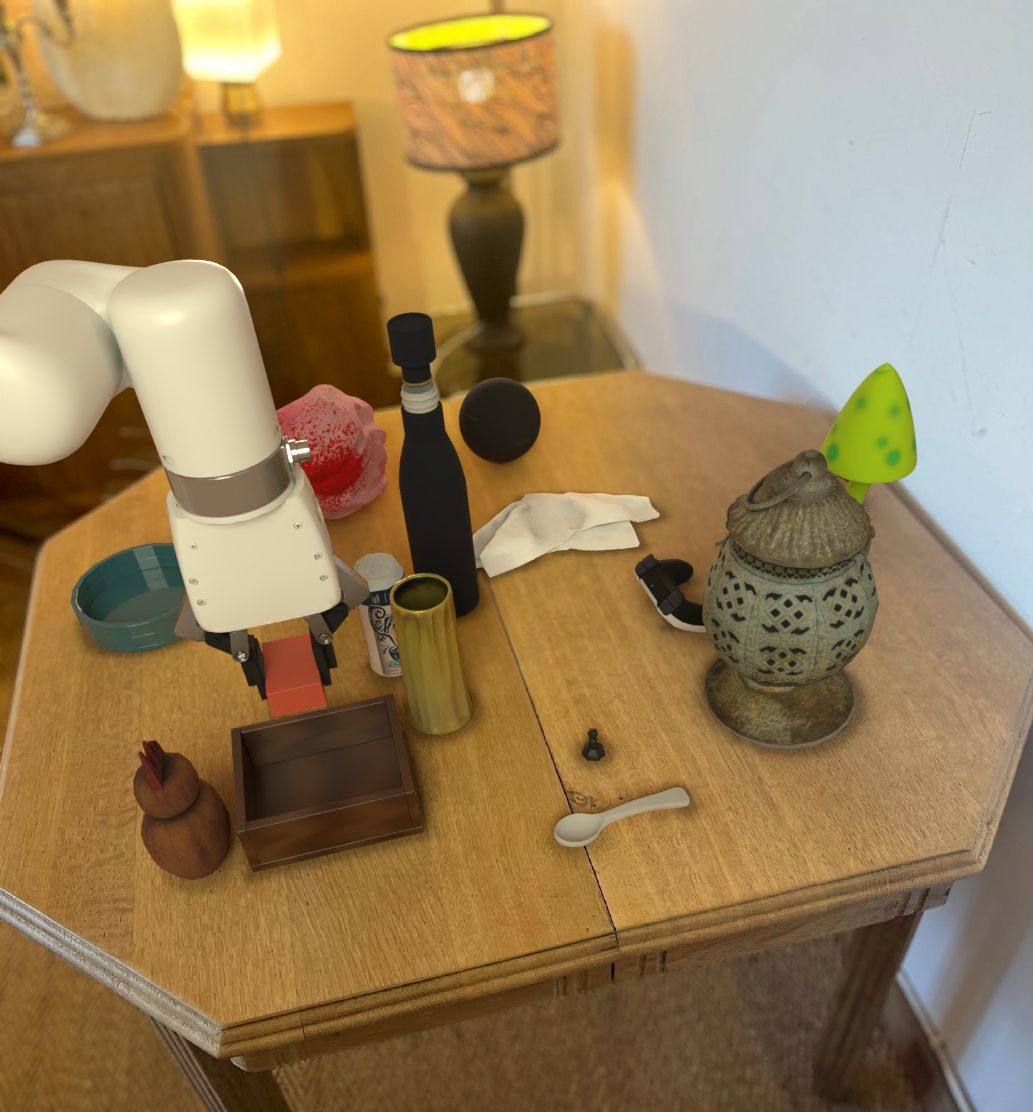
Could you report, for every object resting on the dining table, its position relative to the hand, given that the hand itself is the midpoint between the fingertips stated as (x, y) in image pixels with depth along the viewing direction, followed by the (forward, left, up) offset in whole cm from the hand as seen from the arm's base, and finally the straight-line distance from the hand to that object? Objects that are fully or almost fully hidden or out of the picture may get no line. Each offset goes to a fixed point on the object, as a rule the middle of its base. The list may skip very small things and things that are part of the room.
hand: (295, 679), depth 75 cm
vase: (+11, +7, -14) cm, 19 cm away
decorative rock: (+6, +45, -14) cm, 48 cm away
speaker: (+27, +49, -14) cm, 58 cm away
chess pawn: (+23, -2, -14) cm, 27 cm away
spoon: (+23, -10, -14) cm, 29 cm away
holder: (0, 0, -14) cm, 14 cm away
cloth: (+28, +32, -14) cm, 45 cm away
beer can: (+8, +15, -14) cm, 22 cm away
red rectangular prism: (0, 0, -1) cm, 1 cm away
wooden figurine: (-11, -3, -14) cm, 18 cm away
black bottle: (+15, +23, -14) cm, 31 cm away
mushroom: (+53, +11, -14) cm, 56 cm away
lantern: (+41, 0, -14) cm, 43 cm away
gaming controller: (+37, +14, -14) cm, 42 cm away
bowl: (-16, +32, -14) cm, 39 cm away
